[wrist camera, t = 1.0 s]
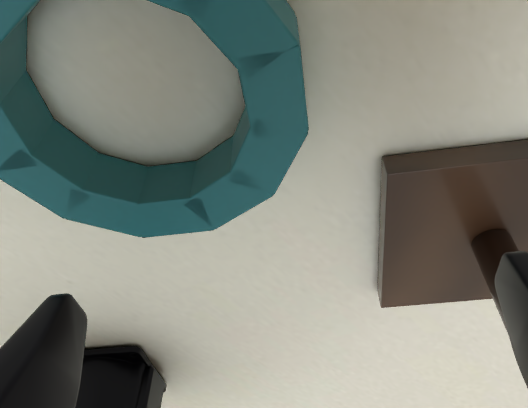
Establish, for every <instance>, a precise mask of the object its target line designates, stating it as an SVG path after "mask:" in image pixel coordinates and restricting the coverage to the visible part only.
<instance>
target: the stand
mask: <svg viewBox="0 0 528 408" xmlns="http://www.w3.org/2000/svg"><path fill="white" fill-rule="evenodd" d="M515 251H526V252H528V139H527V140H518V141H510V142H501V143H493V144H485V145H476V146H468V147H459V148H451V149H442V150H434V151H425V152H417V153H408V154H400V155H392V156H383V157H382V171H381V200H380V229H379V258H378V288H377V291H378V296H379V300H380V305H381V308H385V307H397V306H409V305H421V304H433V303H445V302H457V301H469V300H481V299H493V300H494V302H495V304H496V307H497V309H498V311H499V314H500V316H501V318H502V321H503V323H504V325H505V328H506V330H507V327H506V323H505V320H504V316H503V313H502V309H501V306H500V302H499V299H498V295H497V292H496V288H495V275H496V272H497V269H498V266H499V263H500V260H501V257H502V255H503V254H504V253H506V252H515ZM507 332H508V330H507ZM508 335H509V334H508Z"/></svg>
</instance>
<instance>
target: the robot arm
mask: <svg viewBox="0 0 528 408" xmlns="http://www.w3.org/2000/svg"><path fill="white" fill-rule="evenodd" d="M495 288H496V292H497V295H498V299H499V302H500V306H501V309H502V313H503V316H504V320H505V323H506V327H507V330H508V334H509V337H510V341H511V344H512V348H513V351H514V354H515V358H516V361H517V363H518V366H519V368H520V371H521V373H522V376H523V378H524V381H525V383H526V385H527V388H528V252H526V251H515V252H506V253H504V254H503V255H502V257H501V260H500V263H499V266H498V269H497V272H496V275H495ZM86 330H87V316H86V314H85V312H84V311H83V309H82V308H81V307H80V305H79V304H78V303H77V302H76V300H75V299H74V298H73V296H72V295H70V294H56V295H51V296H49V297H48V298H47V299H46V300H45V301H44V302H43V303H42V304H41V305H40V306H39V307H38V308H37V309H36V310H35V312H34V313H33V314H32V315H31V316H30V317H29V318H28V319H27V320H26V321H25V322H24V323H23V324H22V326H21V327H20V328H19V329H18V330H17V331H16V332H15V333H14V334H13V335H12V336H11V337H10V338H9V340H8V341H7V342H6V343H5V344H4V345H3V346H2V347H1V348H0V408H161V402H162V396H163V392H165V391H166V383H165V382H164V380H163V379H162V378H161V376H160V375H159V373H158V372H157V370H156V369H155V368H154V366H153V365H152V363H151V362H150V360H149V359H148V358H147V356H146V355H145V353H144V352H143V350H142V349H141V348H139V347H136V346H129V347H116V348H103V349H90V350H84V347H85V339H86Z"/></svg>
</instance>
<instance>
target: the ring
mask: <svg viewBox="0 0 528 408" xmlns="http://www.w3.org/2000/svg"><path fill="white" fill-rule="evenodd" d="M39 1H40V0H0V179H1V180H2V181H4V182H6V183H7V184H9V185H10V186H12V187H14V188H15V189H17V190H18V191H20V192H22V193H23V194H25V195H26V196H28V197H30V198H31V199H33V200H34V201H36V202H38V203H39V204H41V205H42V206H44V207H46V208H47V209H49V210H50V211H52V212H54V213H55V214H57V215H58V216H60V217H62V218H65V219H67V220H71V221H76V222H80V223H84V224H88V225H92V226H96V227H100V228H105V229H109V230H113V231H117V232H121V233H125V234H129V235H134V236H138V237H141V236H142V238H145V237H154V236H164V235H173V234H183V233H192V232H202V231H211V230H214V229H217V228H218V227H220V226H222V225H223V224H225V223H227V222H229V221H230V220H232V219H234V218H236V217H237V216H239V215H241V214H242V213H244V212H246V211H248V210H249V209H251V208H253V207H255V206H256V205H258V204H260V203H261V202H263V201H265V200H267V199H268V198H270V197H272V196H273V195H274V194H275V192H276V191H277V189H278V187H279V185H280V183H281V182H282V180H283V178H284V176H285V174H286V172H287V171H288V169H289V167H290V165H291V163H292V162H293V160H294V158H295V156H296V154H297V153H298V151H299V149H300V147H301V145H302V143H303V142H304V140H305V138H306V136H307V134H308V130H309V127H308V117H307V107H306V98H305V88H304V78H303V69H302V59H301V49H300V41H299V33H298V25H297V17H296V15H295V12H294V11H293V9H292V8H291V7H290V5H289V4H288V3H287V1H286V0H147V1H150V2H153V3H155V4H158V5H161V6H163V7H166V8H169V9H171V10H174V11H177V12H179V13H182V14H185V15H188V16H189V17H190V18H191V19H192V20H193V21H194V22H195V23H196V24H197V25H198V26H199V28H200V29H201V30H202V31H203V32H204V33H205V34H206V35H207V36H208V37H209V38H210V40H211V41H212V42H213V43H214V44H215V45H216V46H217V47H218V48H219V49H220V50H221V52H222V53H223V54H224V55H225V56H226V57H227V58H228V59H229V60H230V61H231V63H232V64H233V65H234V66H235V67H236V68H237V69H238V73H239V78H240V83H241V87H242V92H243V97H244V102H245V109H244V111H243V113H242V116H241V118H240V121H239V123H238V125H237V128H236V130H235V133H234V135H233V136H232V137H231V138H229V139H228V140H226V141H225V142H223V143H222V144H220V145H219V146H218V147H216V148H215V149H213V150H212V151H210V152H209V153H207V154H206V155H204V156H203V157H202V158H200V159H199V160H197V161H190V162H182V163H174V164H165V165H157V166H149V167H147V166H144V165H140V164H136V163H133V162H129V161H126V160H122V159H119V158H115V157H112V156H108V155H104V154H101V153H98V152H97V151H96V150H94V149H93V148H92V147H90V146H89V145H88V144H86V143H85V142H84V141H82V140H81V139H80V138H78V137H77V136H76V135H74V134H73V133H72V132H70V131H69V130H68V129H66V128H65V127H64V126H62V125H61V124H60V123H58V122H57V121H56V120H54V118H53V117H52V115H51V113H50V111H49V110H48V108H47V106H46V104H45V102H44V101H43V99H42V97H41V95H40V94H39V92H38V90H37V88H36V87H35V85H34V83H33V81H32V79H31V78H30V76H29V74H28V72H27V71H26V51H27V15H28V14H29V13H30V12H31V11H32V9H33V8H34V7H35V6H36V5H37V4H38V3H39Z"/></svg>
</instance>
